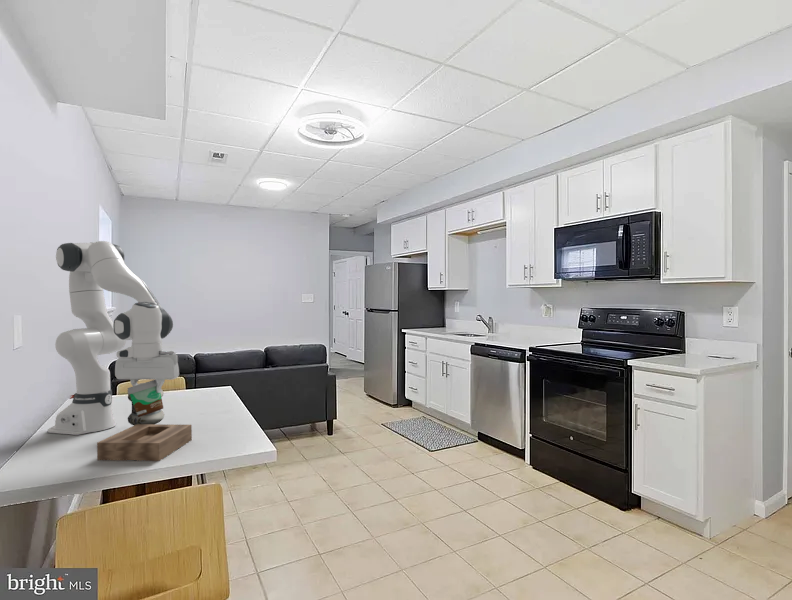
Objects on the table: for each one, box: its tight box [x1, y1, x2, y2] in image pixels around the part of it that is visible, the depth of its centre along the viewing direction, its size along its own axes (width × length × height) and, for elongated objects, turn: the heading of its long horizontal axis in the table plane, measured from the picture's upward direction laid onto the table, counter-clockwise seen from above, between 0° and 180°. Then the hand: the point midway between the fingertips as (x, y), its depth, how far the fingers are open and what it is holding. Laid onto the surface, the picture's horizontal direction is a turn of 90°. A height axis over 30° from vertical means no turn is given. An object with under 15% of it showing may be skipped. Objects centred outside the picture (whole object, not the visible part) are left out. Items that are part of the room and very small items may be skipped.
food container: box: [127, 379, 164, 417], centre depth 153 cm, size 12×6×10 cm, turn 173°
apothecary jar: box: [127, 382, 165, 426], centre depth 173 cm, size 12×12×18 cm
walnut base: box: [96, 423, 193, 462], centre depth 153 cm, size 20×20×6 cm
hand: (147, 392), depth 153 cm, fingers closed on food container, 5 cm apart
